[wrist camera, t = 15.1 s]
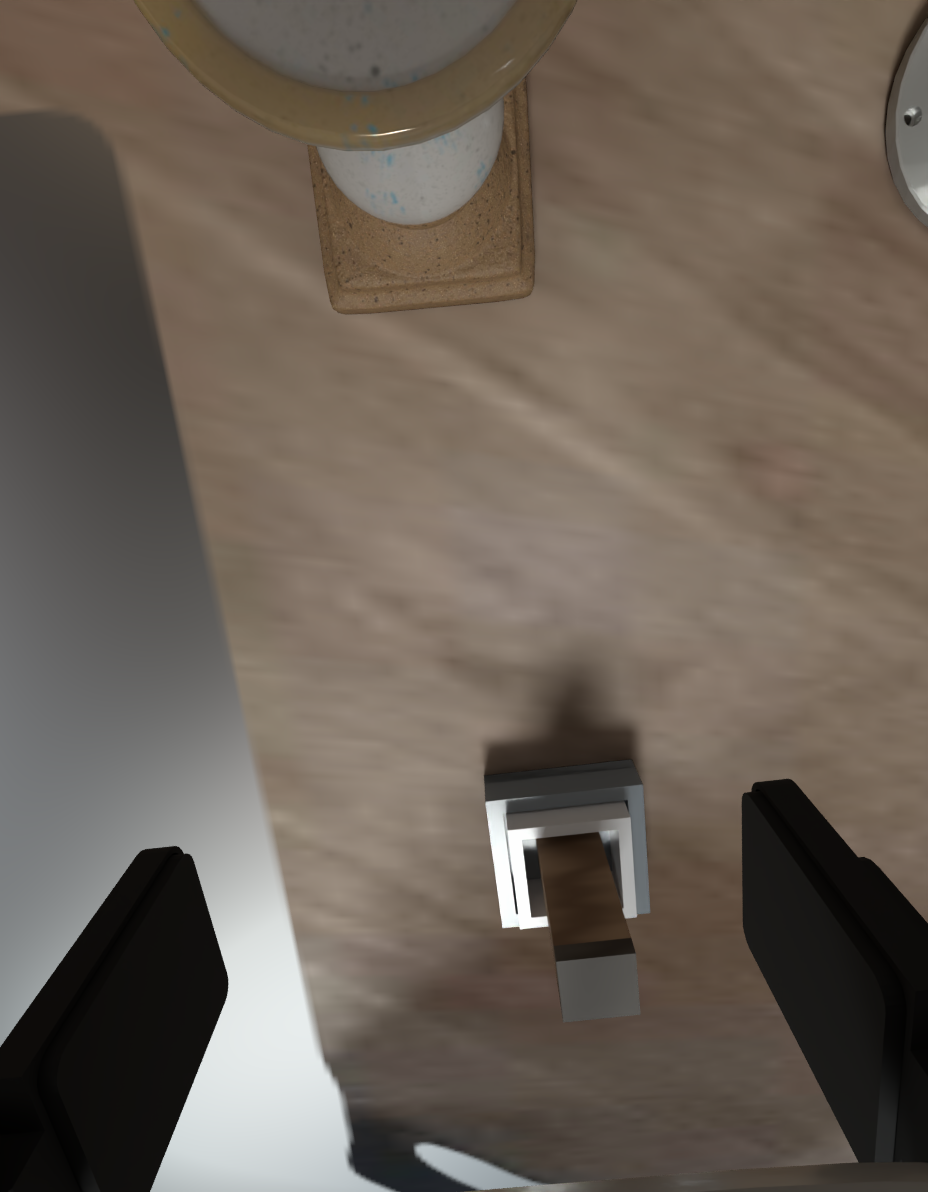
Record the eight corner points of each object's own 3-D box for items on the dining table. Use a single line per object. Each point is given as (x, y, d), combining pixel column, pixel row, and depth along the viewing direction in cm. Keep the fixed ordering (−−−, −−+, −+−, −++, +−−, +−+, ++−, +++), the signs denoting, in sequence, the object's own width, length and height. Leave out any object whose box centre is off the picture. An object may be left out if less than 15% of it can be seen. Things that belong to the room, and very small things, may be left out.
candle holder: (521, 61, 33) (646, -679, 10) (533, 298, 36) (649, 136, 13) (304, 83, 33) (-42, -589, 11) (335, 316, 37) (120, 189, 14)
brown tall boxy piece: (592, 809, 45) (635, 953, 33) (596, 858, 46) (640, 1014, 34) (533, 816, 45) (556, 961, 33) (538, 865, 46) (563, 1022, 34)
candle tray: (631, 759, 45) (649, 798, 40) (638, 881, 48) (656, 930, 43) (484, 775, 45) (486, 816, 41) (500, 895, 48) (504, 945, 44)
